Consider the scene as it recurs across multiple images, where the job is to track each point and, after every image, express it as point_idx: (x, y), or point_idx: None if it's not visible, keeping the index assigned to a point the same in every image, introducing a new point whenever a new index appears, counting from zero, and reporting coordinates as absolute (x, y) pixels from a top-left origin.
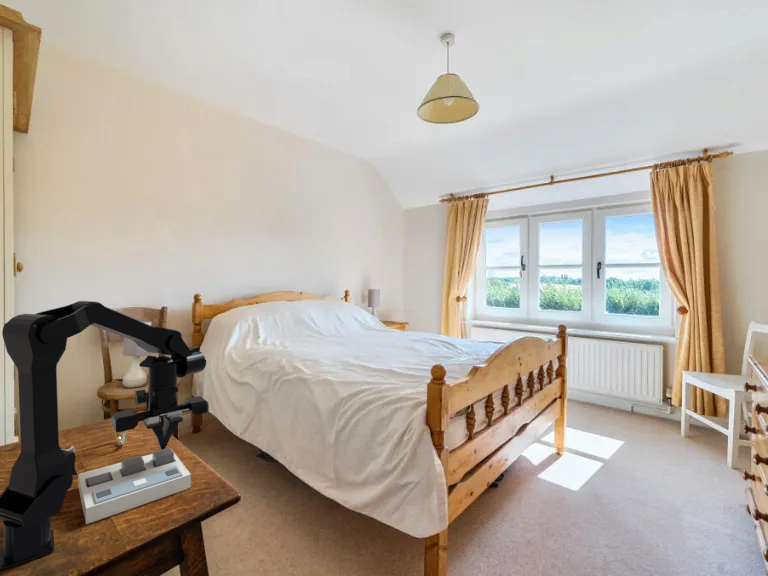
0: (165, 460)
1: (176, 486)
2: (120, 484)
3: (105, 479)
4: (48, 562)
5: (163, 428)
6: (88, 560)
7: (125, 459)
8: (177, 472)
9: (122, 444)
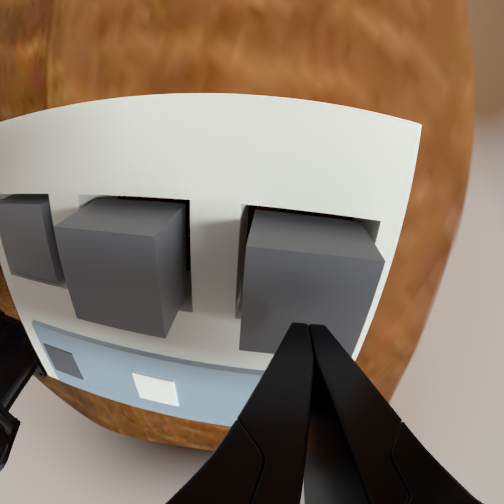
0: None
1: None
2: (95, 354)
3: (42, 270)
4: (52, 385)
5: (359, 480)
6: (101, 420)
7: (70, 229)
8: None
9: None
